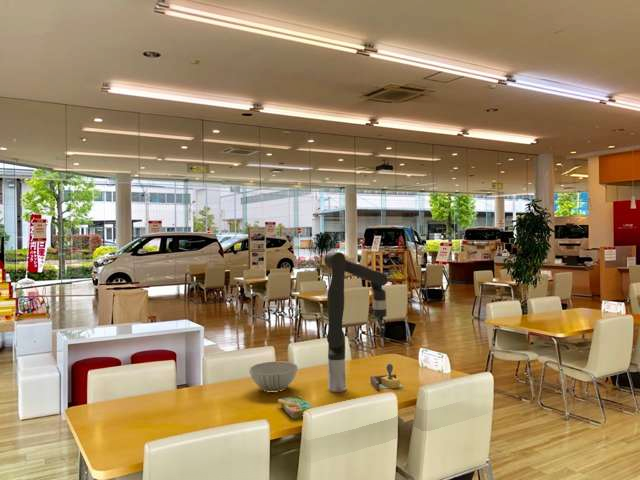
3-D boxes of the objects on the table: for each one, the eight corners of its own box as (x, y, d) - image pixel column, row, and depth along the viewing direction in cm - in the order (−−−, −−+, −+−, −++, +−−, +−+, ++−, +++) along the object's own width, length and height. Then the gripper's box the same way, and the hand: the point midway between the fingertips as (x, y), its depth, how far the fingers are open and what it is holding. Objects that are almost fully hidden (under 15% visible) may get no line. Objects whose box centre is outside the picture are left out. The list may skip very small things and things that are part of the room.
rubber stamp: (380, 383, 283) (380, 362, 282) (389, 382, 285) (388, 361, 285) (391, 388, 274) (390, 366, 274) (400, 386, 277) (399, 364, 276)
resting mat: (382, 388, 275) (382, 388, 275) (378, 384, 283) (378, 383, 283) (403, 387, 277) (403, 386, 277) (399, 382, 284) (399, 382, 284)
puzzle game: (290, 410, 233) (277, 397, 252) (291, 420, 233) (278, 407, 252) (314, 406, 237) (300, 394, 256) (314, 416, 238) (300, 403, 256)
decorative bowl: (267, 400, 261) (266, 377, 260) (240, 389, 281) (240, 367, 281) (308, 389, 278) (307, 367, 277) (280, 379, 298) (279, 358, 298)
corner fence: (376, 390, 272) (376, 383, 272) (370, 383, 286) (370, 375, 286) (402, 388, 274) (402, 381, 274) (395, 381, 288) (395, 374, 288)
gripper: (389, 309, 282) (389, 338, 282) (383, 305, 296) (383, 333, 296) (376, 310, 281) (376, 339, 281) (370, 306, 295) (371, 334, 295)
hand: (380, 336), depth 289 cm, fingers open, 8 cm apart
